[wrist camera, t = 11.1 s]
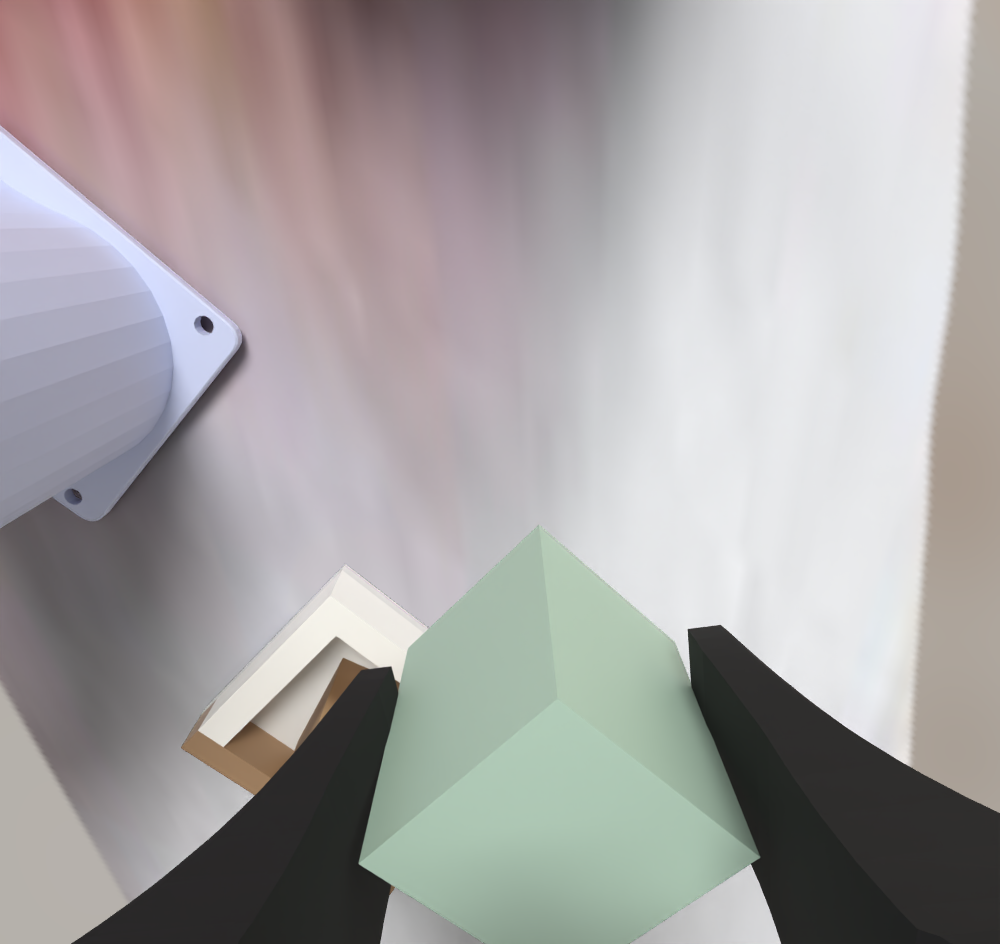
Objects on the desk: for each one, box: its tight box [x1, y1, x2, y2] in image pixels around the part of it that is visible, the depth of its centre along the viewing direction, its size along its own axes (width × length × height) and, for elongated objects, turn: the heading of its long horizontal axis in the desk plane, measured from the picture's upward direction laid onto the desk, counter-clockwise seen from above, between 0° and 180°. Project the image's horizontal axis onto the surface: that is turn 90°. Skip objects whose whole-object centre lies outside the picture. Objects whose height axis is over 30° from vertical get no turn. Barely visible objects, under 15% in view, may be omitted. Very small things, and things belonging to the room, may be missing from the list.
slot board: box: [181, 564, 429, 795], centre depth 23 cm, size 17×8×2 cm, turn 47°
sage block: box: [359, 525, 760, 944], centre depth 12 cm, size 4×4×5 cm
